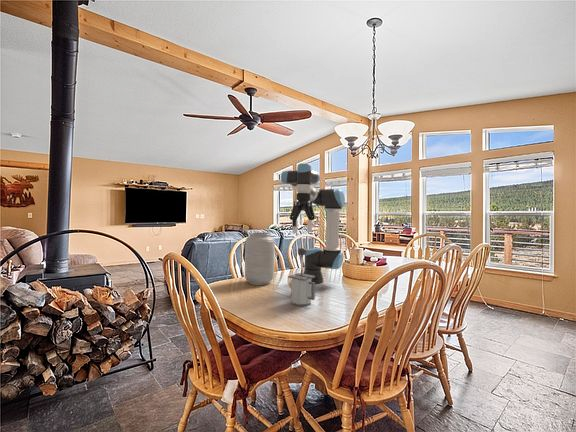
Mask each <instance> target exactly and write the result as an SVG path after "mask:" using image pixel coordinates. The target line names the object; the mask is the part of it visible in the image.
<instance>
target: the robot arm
mask: <svg viewBox="0 0 576 432" xmlns="http://www.w3.org/2000/svg"><path fill="white" fill-rule="evenodd" d="M320 179H321V174H320V173H319V172H318V171H316V170H315V169H312V165H311V164H310V163H298V164H297V169H296V170H284V171H282V172H281V174H280V181H281V183H282V184H284V185H290V186H292V187H293V188H294V189H295V190H296V200H295V201H293V206H292V209H291V212H290V215H289V219H290V221H292V222H291V225H292V233H293V234H298V227H299V226H298V223H299V221H298V218H299V216H300V215H301V213H302V212H303V211H304V213H305V215H306V217H307V220H306V222H307V223H306V225H307V226H306V232H308V233H313V221H315V218H316V216H315V212H314V207H313V204H314V205H315V206H319V207H324V210H325V212H326V220H325V221H326V224H325V226H326V227H325V229H326V230H325V247H323V249H322V248H321V247H316V248H315V247H314V248H306V255H304V269H303V270H304V271H303V274H308V275H313V276H315V278H312V279H311V282H315V285H317V284H322V283H323V284H324V276H323V273H322V269H324V268H325V269H331V270H340V268H341V267H342V265H343V262H344V252H342V250H341V248H340V247H339V246H340V244H339V243H340V242H339V240H340V239H339V238H340V236H339V235H340V212H341V211H342V209H343V207H344V206H345V204H346V197H345V193H344V191H343V190H342V189H339V188H327V189H325V188H320V189H319V188H315V187H312V186H311V185H316V184H318V183H319V182H320Z"/></svg>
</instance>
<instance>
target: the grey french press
mask: <svg viewBox="0 0 576 432" xmlns="http://www.w3.org/2000/svg"><path fill="white" fill-rule="evenodd" d="M287 278H289V279H291V280H292V287H291V296H290V297H291V301H290V303H291V305H293V306H296V307H308V306H311V303H312V301H315V299H316V298H315V297H316V284H315V282H311V279H312V278H315V276H313V275H308V274H303V277H302V276H301V272H298V273H295V274H290V275H288V276H287Z"/></svg>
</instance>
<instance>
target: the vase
mask: <svg viewBox="0 0 576 432" xmlns="http://www.w3.org/2000/svg"><path fill="white" fill-rule="evenodd" d="M275 242H276V241H275V238H274V237H272V236H271V233H268V232H251V233H249V236H247V237H246V238H245V242H244V244H245V245H244V277H245V280H246V281H247V282H248V284H249V285H253V286H263V285H269V284H270V282H272V281H273V279H274V277H275V260H276V259H275V257H276V256H275V254H276V253H275V252H276V251H275V250H276V246H275V245H276V243H275Z"/></svg>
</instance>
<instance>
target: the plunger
mask: <svg viewBox="0 0 576 432" xmlns="http://www.w3.org/2000/svg"><path fill="white" fill-rule="evenodd" d="M297 250H298V251H297V254H298V255H301V256H300V257H301V258H300V260H301V261H300V273H301V276H302V277H303V273H304V271H303V270H304V269H303V268H304V256H305V255H306V250H307V248H306V247H305V248H304V247H299V248H297Z"/></svg>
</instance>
